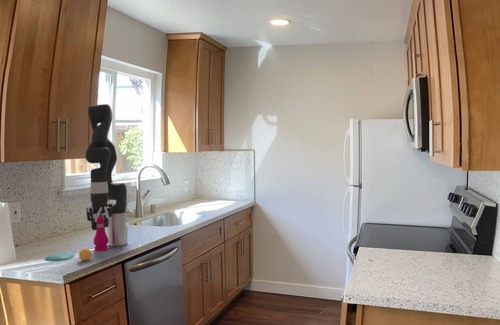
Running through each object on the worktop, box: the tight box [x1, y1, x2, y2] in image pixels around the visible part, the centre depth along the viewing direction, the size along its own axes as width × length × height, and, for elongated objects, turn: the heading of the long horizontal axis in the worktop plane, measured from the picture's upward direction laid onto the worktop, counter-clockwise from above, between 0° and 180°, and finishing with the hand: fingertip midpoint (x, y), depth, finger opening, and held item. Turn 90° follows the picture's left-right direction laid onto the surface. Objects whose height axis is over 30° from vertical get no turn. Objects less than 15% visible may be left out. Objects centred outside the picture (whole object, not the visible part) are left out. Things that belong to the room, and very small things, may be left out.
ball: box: [78, 248, 93, 262], centre depth 190 cm, size 6×6×6 cm
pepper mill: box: [92, 214, 109, 252], centre depth 209 cm, size 7×7×20 cm
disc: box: [44, 252, 75, 262], centre depth 197 cm, size 13×13×1 cm
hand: (100, 228), depth 186 cm, fingers open, 6 cm apart
